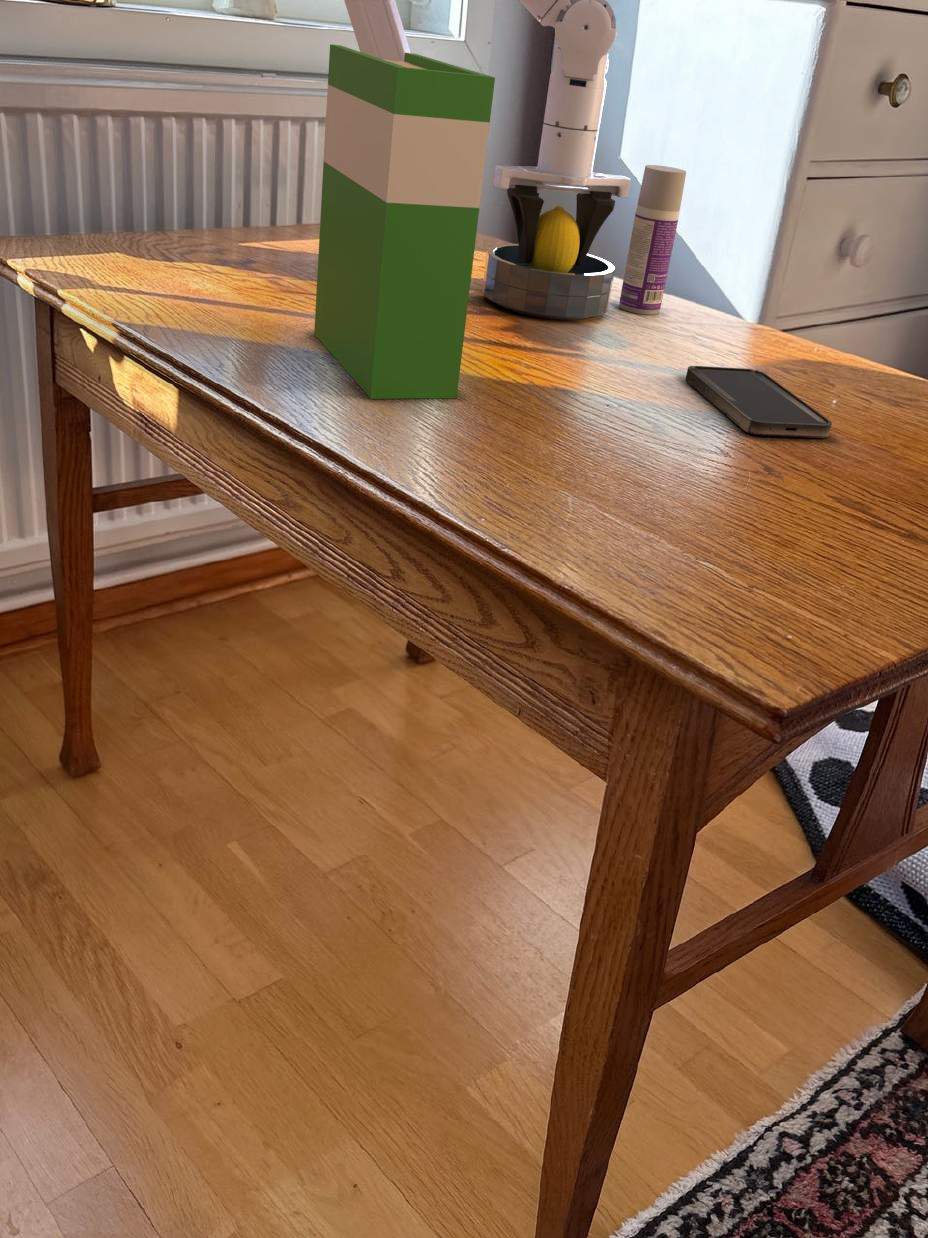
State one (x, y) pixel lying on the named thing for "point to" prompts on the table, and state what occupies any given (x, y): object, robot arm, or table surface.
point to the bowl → (547, 286)
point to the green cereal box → (400, 219)
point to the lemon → (556, 241)
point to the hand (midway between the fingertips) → (550, 262)
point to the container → (652, 239)
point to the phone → (758, 402)
